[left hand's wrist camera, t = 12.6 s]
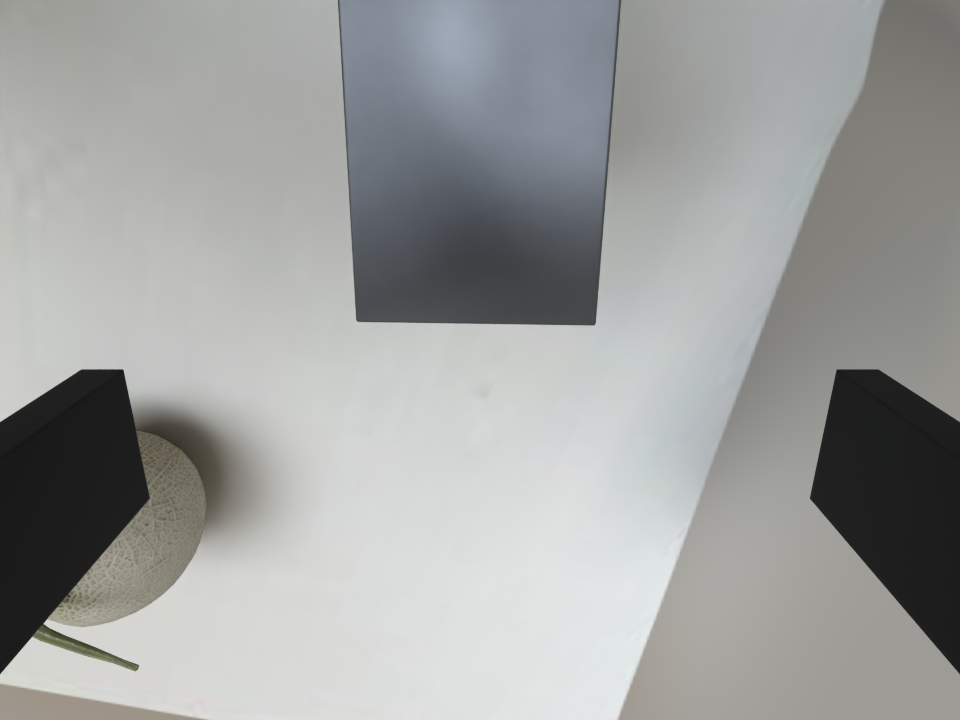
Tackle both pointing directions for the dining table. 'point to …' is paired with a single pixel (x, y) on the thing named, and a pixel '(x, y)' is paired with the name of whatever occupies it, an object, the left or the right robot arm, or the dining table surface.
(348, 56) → the box
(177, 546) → the fruit
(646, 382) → the dining table surface
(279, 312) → the dining table surface
